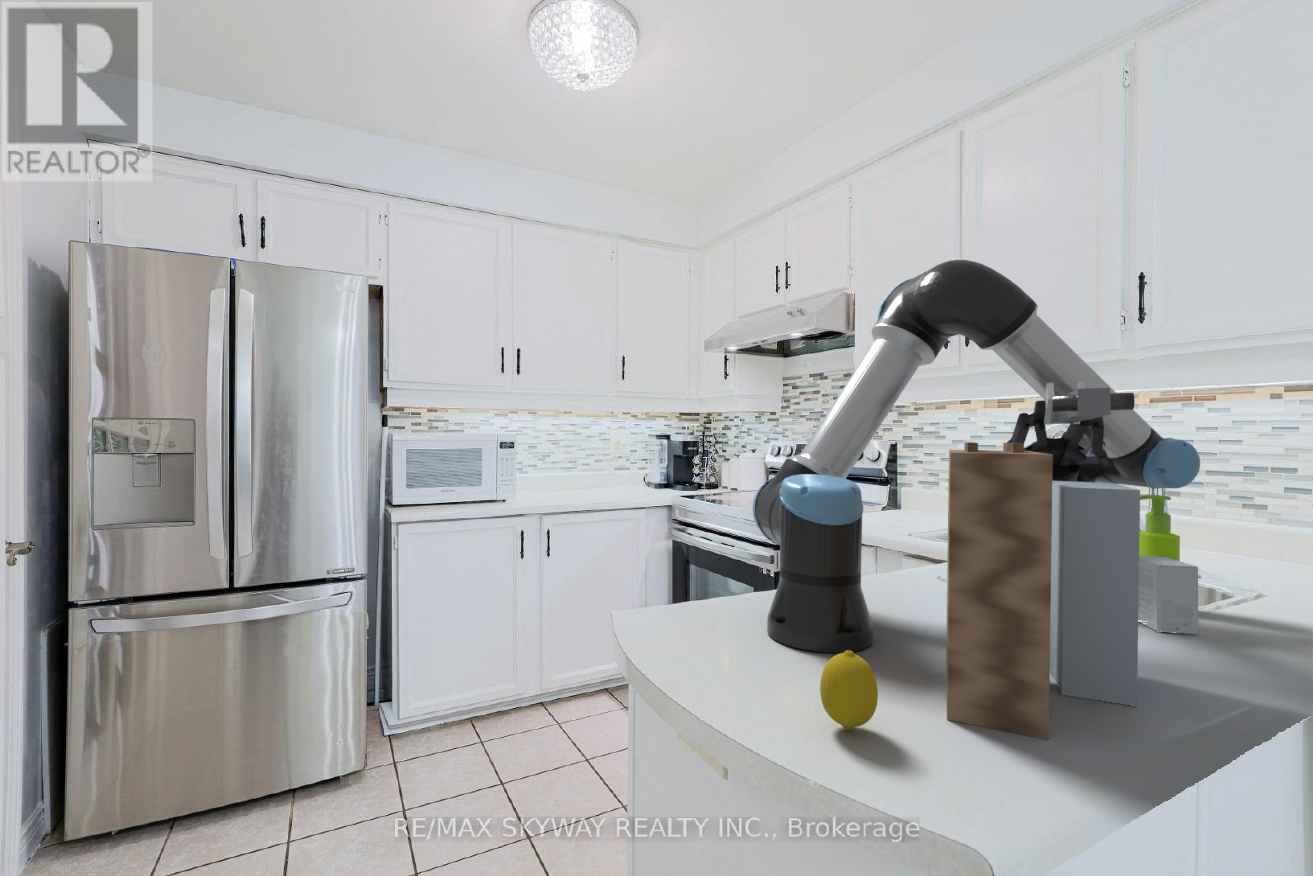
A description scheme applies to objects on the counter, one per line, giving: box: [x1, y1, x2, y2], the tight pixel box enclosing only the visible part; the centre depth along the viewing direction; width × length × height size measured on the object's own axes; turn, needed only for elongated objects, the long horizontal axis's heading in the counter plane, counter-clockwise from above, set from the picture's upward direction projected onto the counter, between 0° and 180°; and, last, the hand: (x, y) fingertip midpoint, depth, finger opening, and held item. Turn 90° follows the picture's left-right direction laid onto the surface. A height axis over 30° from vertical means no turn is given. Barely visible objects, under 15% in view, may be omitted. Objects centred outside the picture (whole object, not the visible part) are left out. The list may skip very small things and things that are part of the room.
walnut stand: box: [945, 441, 1053, 740], centre depth 69 cm, size 9×18×29 cm, turn 155°
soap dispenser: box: [1139, 493, 1181, 562], centre depth 106 cm, size 6×7×20 cm
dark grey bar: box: [1050, 388, 1135, 425], centre depth 75 cm, size 7×28×3 cm, turn 152°
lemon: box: [819, 650, 879, 732], centre depth 60 cm, size 6×6×8 cm
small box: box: [1138, 556, 1199, 635], centre depth 96 cm, size 8×6×10 cm
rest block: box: [1050, 481, 1141, 707], centre depth 73 cm, size 7×12×24 cm, turn 154°
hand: (1066, 390), depth 81 cm, fingers closed on dark grey bar, 3 cm apart
